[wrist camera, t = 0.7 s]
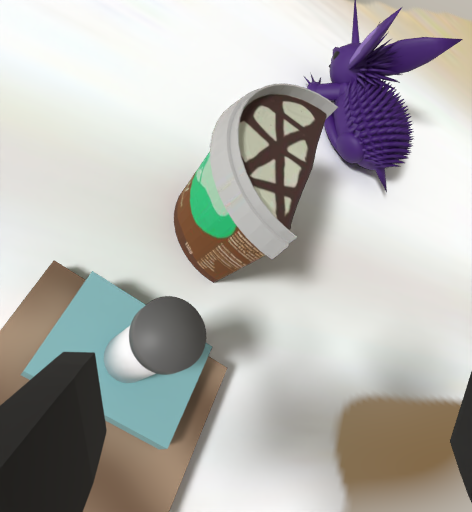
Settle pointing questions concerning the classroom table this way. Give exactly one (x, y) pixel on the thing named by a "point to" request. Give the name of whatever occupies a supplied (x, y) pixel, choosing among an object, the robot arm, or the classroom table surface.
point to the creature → (373, 96)
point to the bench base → (116, 440)
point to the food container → (251, 179)
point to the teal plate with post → (133, 355)
